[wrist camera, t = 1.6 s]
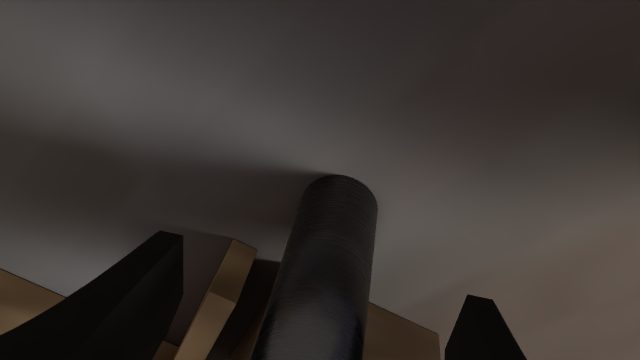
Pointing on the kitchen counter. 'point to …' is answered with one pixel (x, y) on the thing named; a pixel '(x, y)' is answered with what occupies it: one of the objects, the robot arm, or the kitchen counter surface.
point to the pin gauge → (323, 277)
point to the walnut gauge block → (368, 337)
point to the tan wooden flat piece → (31, 300)
